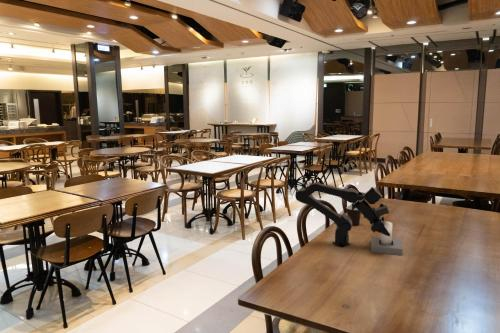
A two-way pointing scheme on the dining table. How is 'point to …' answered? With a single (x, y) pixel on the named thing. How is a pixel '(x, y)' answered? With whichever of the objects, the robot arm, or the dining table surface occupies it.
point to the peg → (384, 238)
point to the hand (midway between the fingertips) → (389, 233)
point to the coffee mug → (353, 215)
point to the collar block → (386, 246)
